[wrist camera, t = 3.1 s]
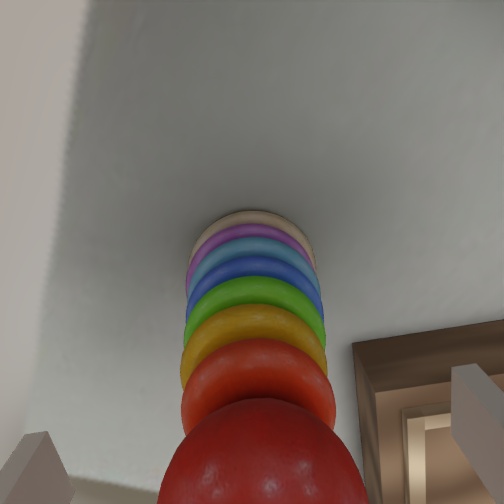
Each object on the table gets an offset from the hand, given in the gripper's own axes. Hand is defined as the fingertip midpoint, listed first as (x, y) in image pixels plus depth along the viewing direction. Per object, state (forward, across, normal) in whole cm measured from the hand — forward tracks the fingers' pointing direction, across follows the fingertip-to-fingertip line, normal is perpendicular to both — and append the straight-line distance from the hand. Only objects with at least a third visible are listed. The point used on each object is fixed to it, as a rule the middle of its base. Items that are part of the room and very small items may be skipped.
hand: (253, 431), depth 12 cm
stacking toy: (+13, 0, 0) cm, 13 cm away
